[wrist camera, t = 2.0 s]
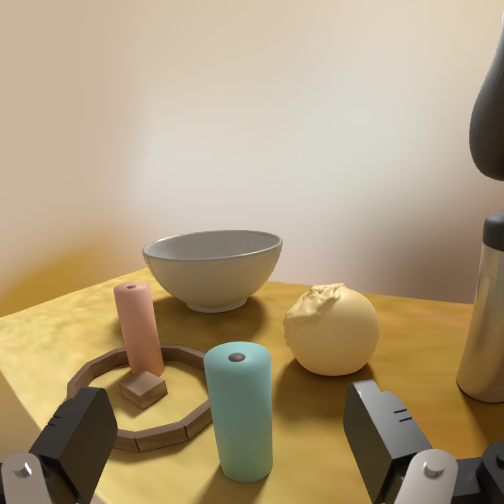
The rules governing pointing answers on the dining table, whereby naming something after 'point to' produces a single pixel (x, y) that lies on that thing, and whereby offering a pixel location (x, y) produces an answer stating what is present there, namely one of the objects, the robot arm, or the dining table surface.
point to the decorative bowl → (213, 266)
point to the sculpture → (332, 330)
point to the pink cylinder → (139, 327)
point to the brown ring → (147, 397)
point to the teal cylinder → (241, 408)
